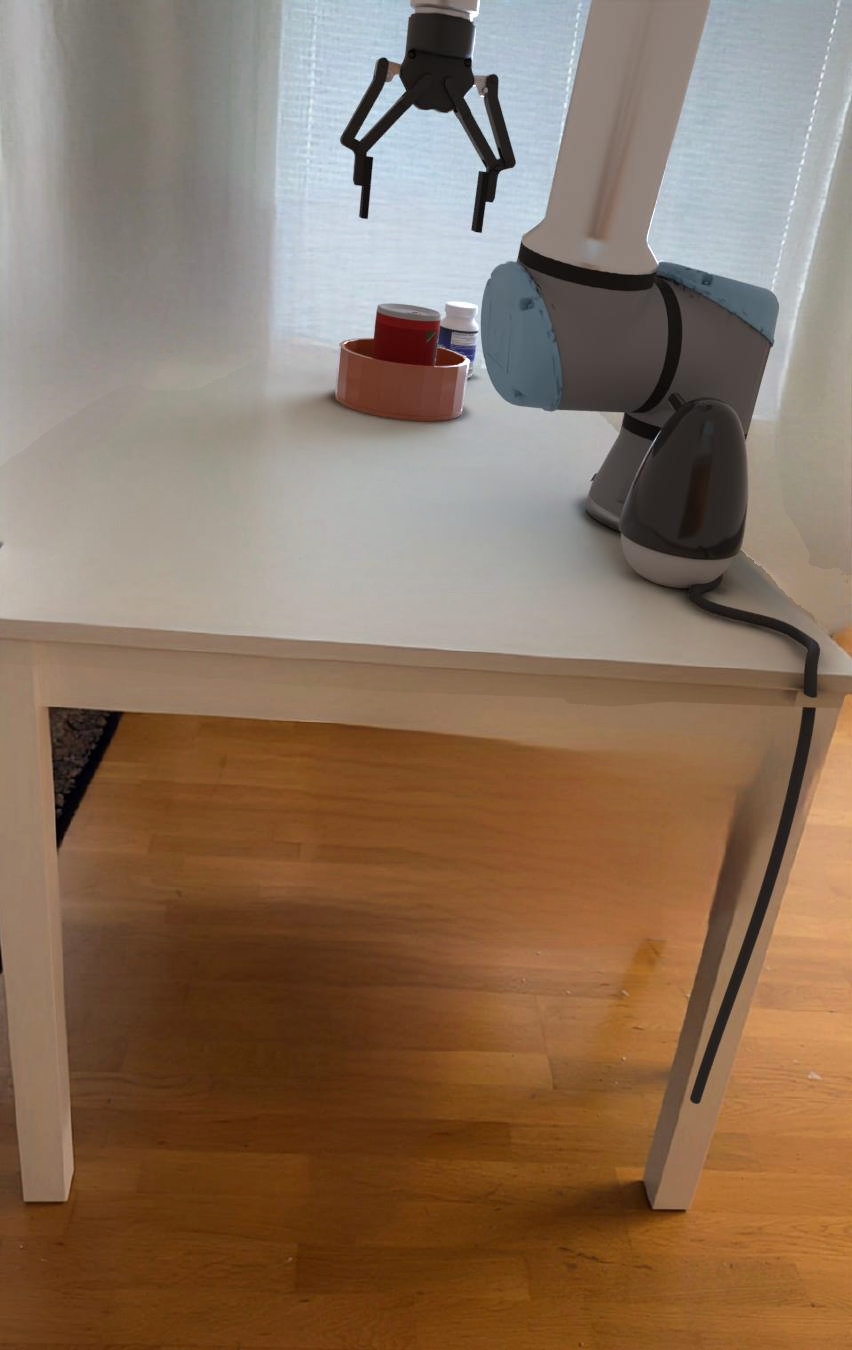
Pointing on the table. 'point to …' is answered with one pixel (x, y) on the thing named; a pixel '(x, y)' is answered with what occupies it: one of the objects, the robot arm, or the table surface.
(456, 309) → the pill bottle
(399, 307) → the canned food
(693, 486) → the dark two-tone rounded device
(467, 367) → the terracotta bowl
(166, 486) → the table surface
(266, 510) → the table surface
